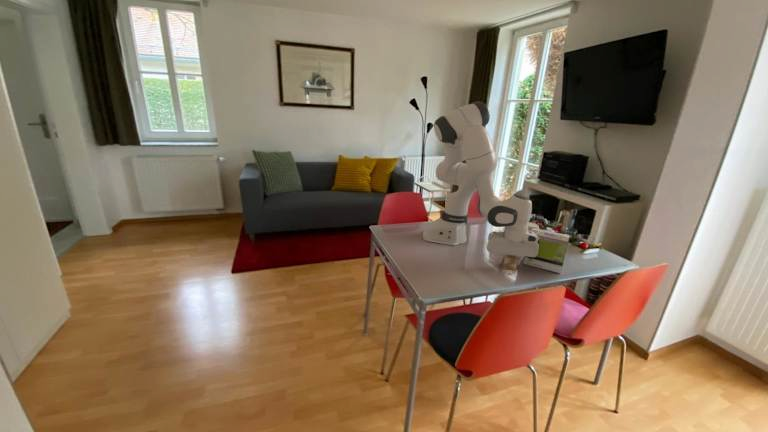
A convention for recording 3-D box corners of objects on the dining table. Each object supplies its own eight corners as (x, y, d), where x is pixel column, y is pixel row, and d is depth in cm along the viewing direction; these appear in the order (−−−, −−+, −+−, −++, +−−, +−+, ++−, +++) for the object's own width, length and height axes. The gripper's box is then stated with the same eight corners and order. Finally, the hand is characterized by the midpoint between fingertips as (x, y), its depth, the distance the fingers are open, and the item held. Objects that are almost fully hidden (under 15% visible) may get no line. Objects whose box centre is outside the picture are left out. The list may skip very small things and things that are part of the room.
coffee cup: (520, 242, 165) (525, 220, 161) (537, 247, 159) (542, 225, 155) (513, 246, 159) (518, 223, 155) (530, 252, 153) (536, 228, 149)
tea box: (562, 265, 141) (570, 234, 136) (560, 274, 133) (568, 242, 128) (526, 256, 149) (532, 226, 144) (522, 264, 140) (529, 233, 136)
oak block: (503, 269, 135) (505, 258, 133) (501, 263, 140) (503, 253, 138) (515, 270, 134) (518, 259, 133) (512, 265, 139) (514, 254, 137)
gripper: (490, 233, 130) (485, 264, 135) (542, 238, 128) (535, 269, 132) (487, 228, 136) (483, 257, 140) (537, 233, 134) (531, 262, 138)
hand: (509, 263), depth 136 cm, fingers closed on oak block, 5 cm apart
